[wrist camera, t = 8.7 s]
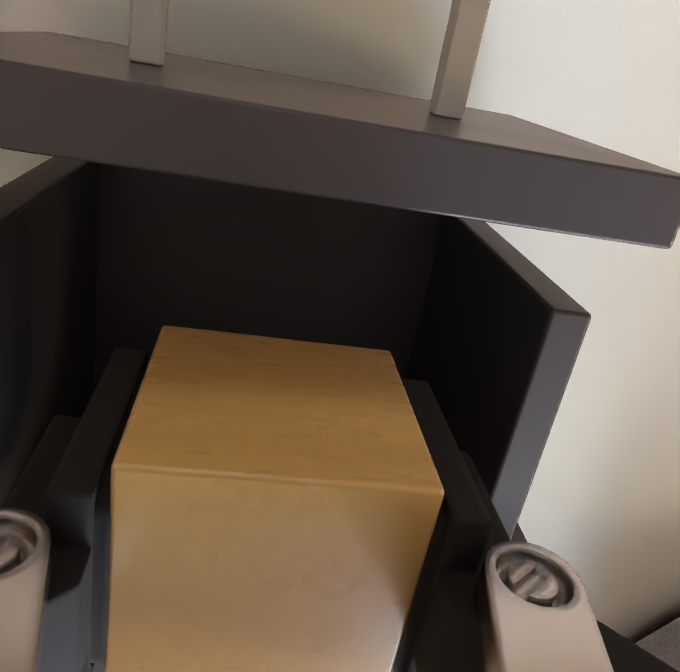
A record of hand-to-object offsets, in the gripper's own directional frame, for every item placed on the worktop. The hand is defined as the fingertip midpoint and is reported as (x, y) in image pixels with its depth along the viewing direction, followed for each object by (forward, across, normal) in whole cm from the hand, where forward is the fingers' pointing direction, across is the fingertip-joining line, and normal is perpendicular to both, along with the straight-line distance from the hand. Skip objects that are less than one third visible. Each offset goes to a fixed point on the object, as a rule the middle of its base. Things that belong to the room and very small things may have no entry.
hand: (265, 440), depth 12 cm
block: (0, 0, 0) cm, 0 cm away
